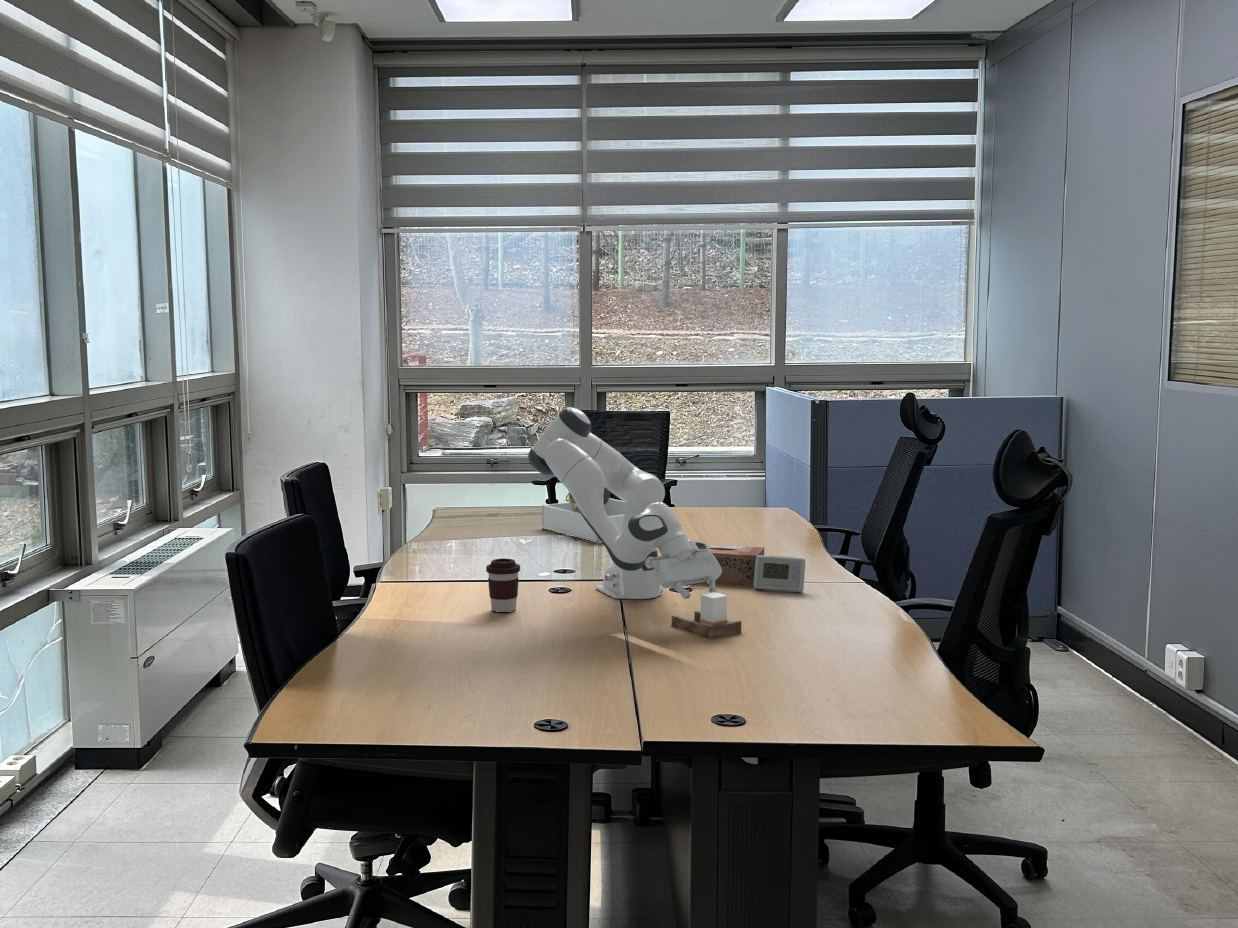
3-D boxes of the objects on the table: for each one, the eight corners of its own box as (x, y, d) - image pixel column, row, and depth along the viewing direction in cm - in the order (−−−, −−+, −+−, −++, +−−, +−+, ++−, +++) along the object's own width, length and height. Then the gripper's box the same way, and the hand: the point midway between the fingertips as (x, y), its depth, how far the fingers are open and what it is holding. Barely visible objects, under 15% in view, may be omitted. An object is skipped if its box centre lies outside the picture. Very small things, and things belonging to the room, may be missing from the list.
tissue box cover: (763, 576, 366) (764, 547, 365) (756, 585, 353) (756, 555, 351) (689, 571, 374) (689, 542, 373) (679, 580, 360) (679, 550, 359)
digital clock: (750, 589, 346) (751, 557, 345) (761, 584, 354) (762, 552, 353) (798, 595, 338) (799, 562, 337) (808, 589, 346) (809, 557, 345)
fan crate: (542, 528, 454) (542, 505, 453) (608, 520, 474) (608, 497, 473) (597, 543, 422) (597, 518, 421) (665, 533, 442) (665, 509, 441)
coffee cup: (515, 615, 314) (514, 564, 312) (482, 613, 316) (481, 563, 314) (524, 607, 324) (524, 557, 322) (493, 605, 326) (492, 556, 324)
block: (698, 630, 293) (698, 594, 292) (712, 627, 296) (713, 591, 295) (712, 635, 288) (713, 598, 287) (727, 631, 291) (727, 595, 290)
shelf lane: (669, 630, 298) (669, 614, 298) (699, 623, 305) (699, 608, 304) (710, 644, 285) (710, 627, 284) (741, 637, 291) (741, 621, 291)
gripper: (654, 551, 293) (676, 593, 286) (711, 543, 304) (734, 583, 298) (643, 564, 297) (665, 606, 290) (701, 556, 309) (723, 596, 302)
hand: (700, 594), depth 294 cm, fingers open, 8 cm apart
